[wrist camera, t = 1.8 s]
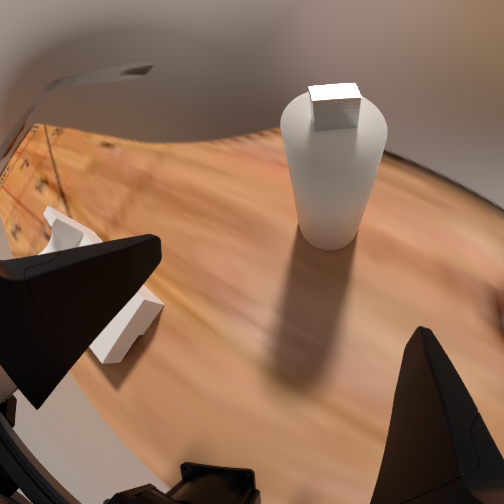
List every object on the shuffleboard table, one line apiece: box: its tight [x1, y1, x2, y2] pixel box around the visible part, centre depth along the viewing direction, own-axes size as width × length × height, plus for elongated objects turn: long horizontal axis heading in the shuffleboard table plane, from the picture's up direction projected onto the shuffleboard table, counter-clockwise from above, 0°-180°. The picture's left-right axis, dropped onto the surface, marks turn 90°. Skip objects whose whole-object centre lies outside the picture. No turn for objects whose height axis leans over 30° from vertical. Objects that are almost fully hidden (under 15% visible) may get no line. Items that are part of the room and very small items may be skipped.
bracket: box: [19, 206, 164, 363], centre depth 22 cm, size 13×7×8 cm, turn 53°
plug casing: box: [280, 83, 387, 251], centre depth 16 cm, size 5×5×14 cm
